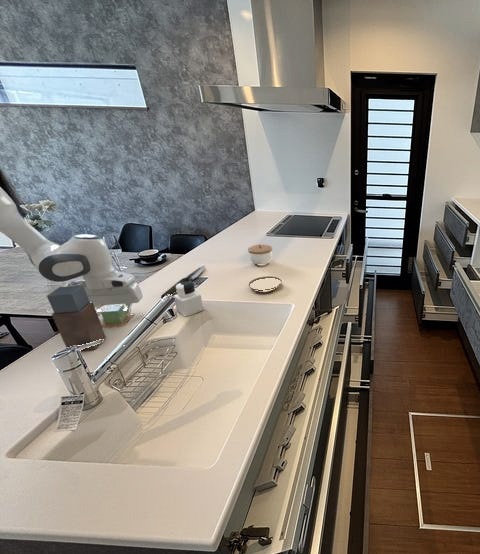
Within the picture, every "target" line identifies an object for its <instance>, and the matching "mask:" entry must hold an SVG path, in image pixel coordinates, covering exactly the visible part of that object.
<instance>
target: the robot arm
mask: <svg viewBox="0 0 480 554" xmlns="http://www.w3.org/2000/svg"><path fill="white" fill-rule="evenodd" d="M0 233H1V234H2V235H4V236H6V237H7V238H8V239H10V240H11V241H12V242H13V243H15V245H17V246H18V247H20V248H21V249H22V250H23V251H24V252H25V253H26V254H27V256H28V258H29V261H30V263H31V264H32V265H33V266H34V268H36V269H37V271H38V272H39V274H40V275H41V276H42V278H45V279H46V280H48V281H51V282H59V283H60V282H61V283H63V282H67V281H68V282H69V281H71V280H73V279H77V278H79V277H82V279H83V280H78V281H77V280H73V281H71V282H69V283H68V284H67V285H66V287H67V286H84V289H85V292H86V294H87V297H88V299H89V302H93V304H94V307H95V310H96V312H97V315H98V317H100V316H102V314H101V312H102V310H101V309H98V308H97V307H96V306H98V307H99V306H109V305H122V304H124V306H126V307H125V309H124V312H125V314H132V306H133V304H137V303H140V302H141V300H142V299H143V293H142V290H141V287H140V285H139V283H137V282H136V281H135V275H134V274H132V273H127V272H122V271H119V270H116V267H115V266H114V265H113V259H112V258H113V257H112V255H111V252H110V249H109V246H108V244H107V243H106V241H105V239H103V238H102V236H101V237H100V236H99V235H95V234H88V233H87V234H84V233H83V234H82V233H81V234H76V235H73V236H71V237H70V238H69V240H67V241H66V242H64V243H62V244H61V243H58V242H56V241H53V240H50V239H48V238H47V237H45V236H44V235H43V234H42V233H41V232H40V231H38V230H37V229H36V228H35V227H34V226H32V224H30V223H29V222H28V221H26V219H25V218H23V216H22V215H21V213H20V212H19V209H18V207H17V204H16V203H15V202H14V200H13V199H12V198H11V197H10V196H9V195H8V193H7V192H6V191H5V190H4V189H3V188H2V187H1V186H0Z"/></svg>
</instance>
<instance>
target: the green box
mask: <svg viewBox="0 0 480 554" xmlns="http://www.w3.org/2000/svg"><path fill="white" fill-rule="evenodd" d="M125 308H126V307H125V304H113V305H106V307H105V308H104V309H103V310H101V317H102V319H103V321H104V322H105V324H113V323H121V322H122V321H123V320H124V319H125V318H126V317H127V314H125V312H124V309H125Z"/></svg>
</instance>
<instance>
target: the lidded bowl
mask: <svg viewBox="0 0 480 554" xmlns="http://www.w3.org/2000/svg"><path fill="white" fill-rule="evenodd" d="M247 252H248V257H249V259H250V261H251V262H252V263H253V264H254V265H255V264H266V263H270V262H271V261H272V258H273V247H272V246H271V245H269V244H256V245H255V244H254V245H251V246H249V247H248V248H247Z"/></svg>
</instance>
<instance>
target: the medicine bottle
mask: <svg viewBox="0 0 480 554" xmlns="http://www.w3.org/2000/svg"><path fill="white" fill-rule="evenodd" d="M176 290H177V292H176V294H174V295H173V299H174V298H176V300H177V303H176V304H175V307H176V311H177V312H178V313H179V312H180V313H179V314H181V315H182V316H184V317H185V318H186V317H189V316H192V315H195V314H197V313H200V312H202V311H204V310H205V308H204V304H203V298H202V295H201V294H200V293H199V292H196V289H195V284H194V282H192V281H189V282H181V283H179V284H177V285H176Z"/></svg>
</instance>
